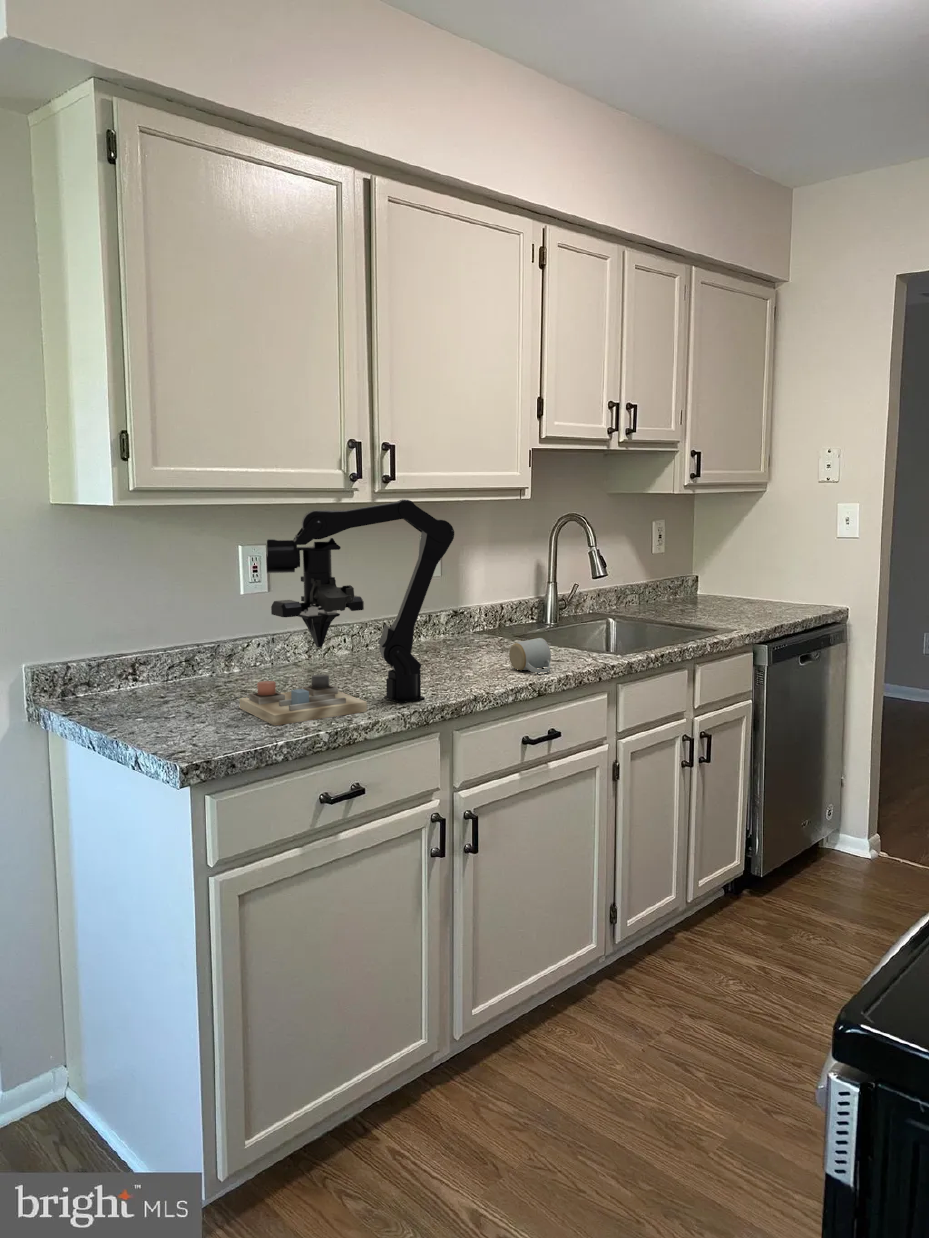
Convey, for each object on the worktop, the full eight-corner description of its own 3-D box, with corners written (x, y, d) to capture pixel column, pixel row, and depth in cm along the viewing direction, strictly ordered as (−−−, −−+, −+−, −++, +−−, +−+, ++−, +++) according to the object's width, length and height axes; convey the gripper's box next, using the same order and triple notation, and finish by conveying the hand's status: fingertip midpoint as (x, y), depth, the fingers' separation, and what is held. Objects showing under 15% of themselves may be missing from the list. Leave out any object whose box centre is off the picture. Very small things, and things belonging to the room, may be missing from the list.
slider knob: (302, 702, 192) (302, 688, 191) (309, 705, 189) (309, 691, 189) (291, 704, 190) (291, 690, 190) (298, 706, 188) (297, 692, 188)
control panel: (327, 695, 208) (327, 681, 207) (366, 711, 194) (366, 695, 194) (239, 708, 197) (239, 692, 196) (274, 725, 183) (274, 709, 182)
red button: (271, 690, 197) (271, 680, 197) (278, 693, 194) (278, 683, 194) (254, 692, 195) (254, 682, 195) (262, 696, 192) (261, 685, 192)
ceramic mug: (506, 668, 239) (507, 638, 238) (533, 665, 243) (534, 635, 242) (531, 677, 230) (532, 645, 229) (559, 673, 234) (559, 642, 233)
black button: (324, 683, 204) (323, 673, 204) (332, 686, 201) (331, 676, 201) (308, 685, 202) (308, 675, 202) (316, 688, 199) (316, 678, 199)
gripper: (294, 578, 185) (296, 657, 188) (377, 572, 196) (378, 647, 199) (268, 573, 194) (271, 649, 196) (349, 568, 205) (350, 640, 208)
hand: (319, 647), depth 200 cm, fingers closed
